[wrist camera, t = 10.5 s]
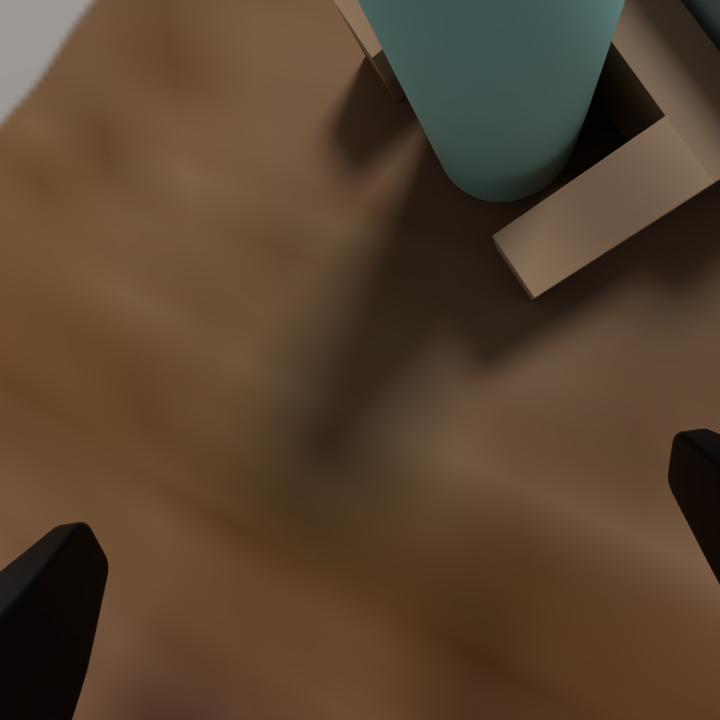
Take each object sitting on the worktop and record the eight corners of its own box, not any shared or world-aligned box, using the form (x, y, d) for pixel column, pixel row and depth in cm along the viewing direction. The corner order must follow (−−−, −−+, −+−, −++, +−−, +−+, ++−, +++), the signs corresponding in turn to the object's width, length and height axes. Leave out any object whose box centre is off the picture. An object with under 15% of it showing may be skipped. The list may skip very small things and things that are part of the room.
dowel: (608, 92, 15) (952, -758, 3) (531, 226, 16) (570, -49, 4) (478, 36, 16) (361, -815, 4) (411, 166, 17) (142, -215, 5)
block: (531, 301, 16) (534, 297, 13) (365, 55, 17) (333, 1, 14) (730, 173, 14) (783, 137, 12) (536, -92, 15) (541, -187, 12)
